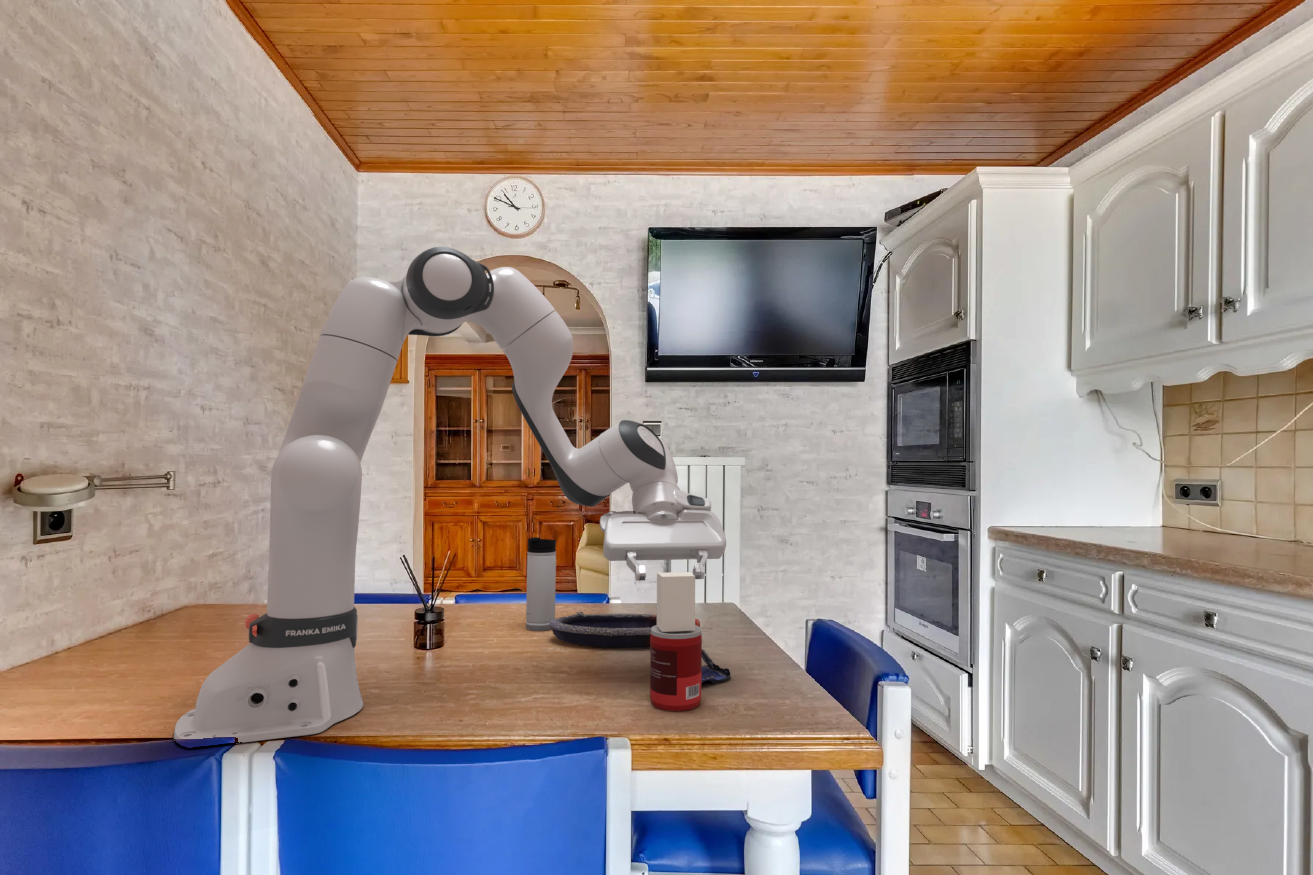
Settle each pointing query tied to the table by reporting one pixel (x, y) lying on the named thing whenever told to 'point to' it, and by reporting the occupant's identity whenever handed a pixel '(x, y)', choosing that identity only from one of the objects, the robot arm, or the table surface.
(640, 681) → the table surface
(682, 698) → the canned food
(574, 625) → the dish
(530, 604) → the travel mug
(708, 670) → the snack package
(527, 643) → the table surface
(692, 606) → the block
